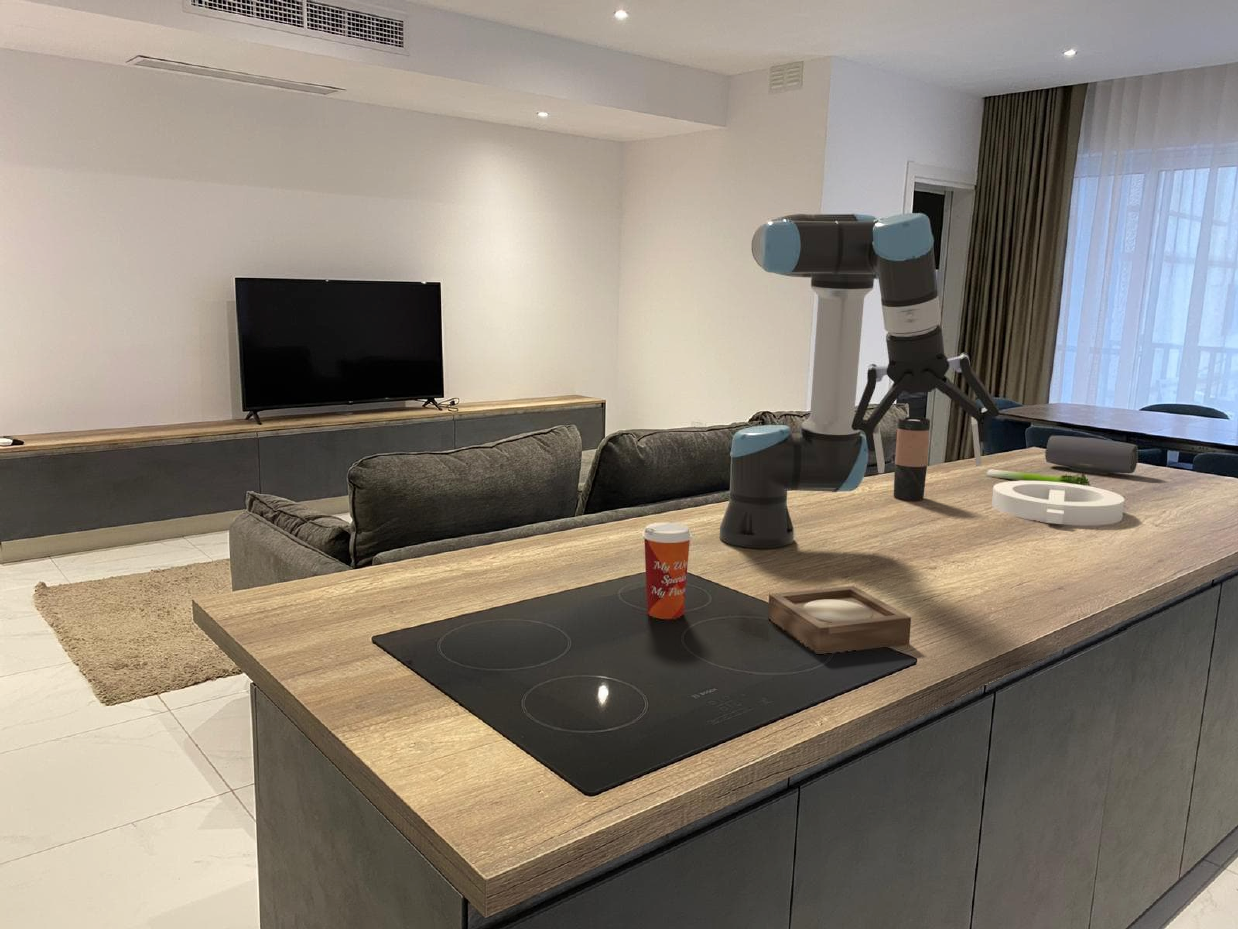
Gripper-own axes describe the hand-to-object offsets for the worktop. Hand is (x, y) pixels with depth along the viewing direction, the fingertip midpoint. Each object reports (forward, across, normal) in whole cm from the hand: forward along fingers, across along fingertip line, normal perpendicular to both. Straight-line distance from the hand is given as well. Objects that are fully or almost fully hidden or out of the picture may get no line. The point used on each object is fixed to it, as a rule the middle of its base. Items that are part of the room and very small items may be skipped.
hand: (929, 465), depth 133 cm
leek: (+61, +19, +111) cm, 128 cm away
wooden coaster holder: (+20, -15, -13) cm, 28 cm away
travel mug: (+47, -11, +83) cm, 97 cm away
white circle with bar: (+53, +22, +82) cm, 100 cm away
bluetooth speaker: (+71, +35, +139) cm, 160 cm away
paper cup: (+15, -41, -15) cm, 46 cm away
